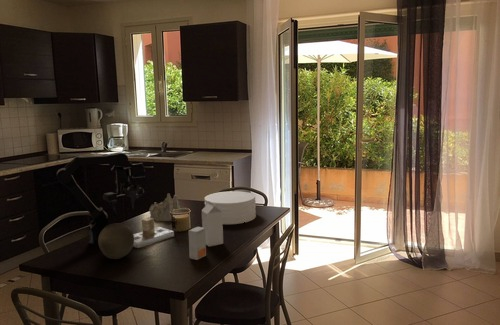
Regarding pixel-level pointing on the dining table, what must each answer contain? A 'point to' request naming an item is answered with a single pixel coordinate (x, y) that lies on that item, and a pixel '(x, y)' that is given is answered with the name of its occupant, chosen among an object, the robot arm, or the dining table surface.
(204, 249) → the skincare box
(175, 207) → the ceramic cottage
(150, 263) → the dining table surface
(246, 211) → the plate stack
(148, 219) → the wooden peg
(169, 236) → the white flat tray
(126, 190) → the robot arm
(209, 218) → the milk carton
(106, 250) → the cantaloupe
